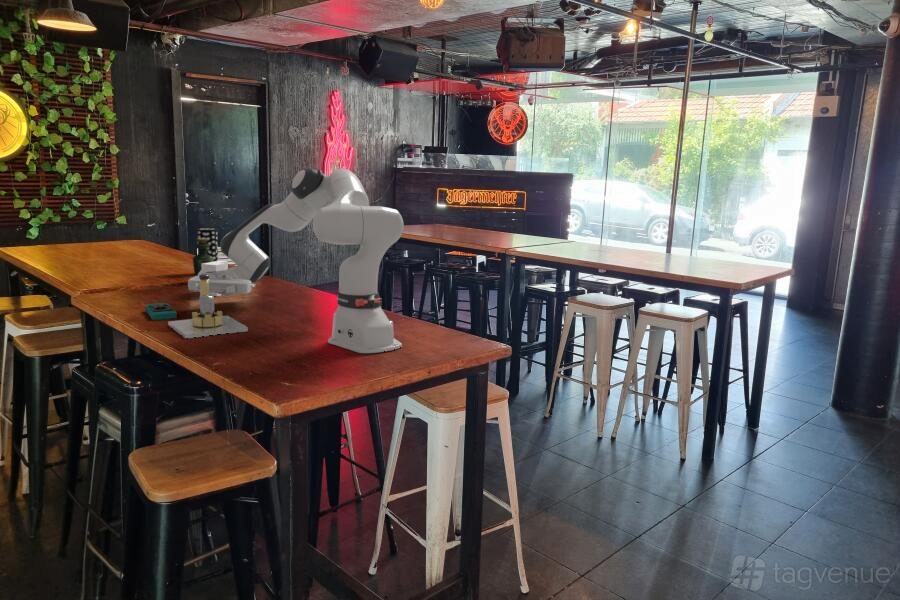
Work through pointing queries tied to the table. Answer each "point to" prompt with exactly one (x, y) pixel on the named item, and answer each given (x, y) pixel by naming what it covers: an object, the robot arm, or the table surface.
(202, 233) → the white-spotted black cylinder
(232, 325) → the spigot base
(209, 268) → the corner bracket
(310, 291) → the table surface
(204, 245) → the potion bottle
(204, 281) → the brass metal fixture
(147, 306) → the digital multimeter
